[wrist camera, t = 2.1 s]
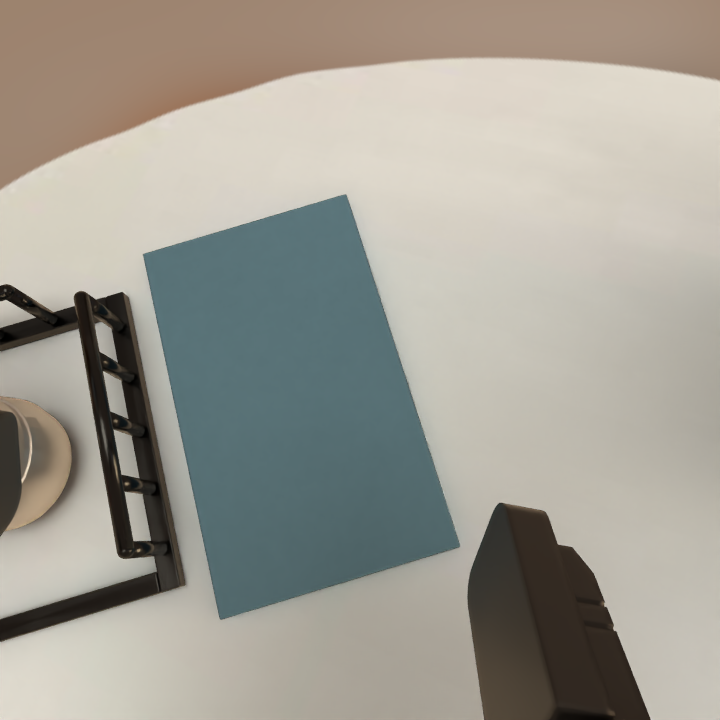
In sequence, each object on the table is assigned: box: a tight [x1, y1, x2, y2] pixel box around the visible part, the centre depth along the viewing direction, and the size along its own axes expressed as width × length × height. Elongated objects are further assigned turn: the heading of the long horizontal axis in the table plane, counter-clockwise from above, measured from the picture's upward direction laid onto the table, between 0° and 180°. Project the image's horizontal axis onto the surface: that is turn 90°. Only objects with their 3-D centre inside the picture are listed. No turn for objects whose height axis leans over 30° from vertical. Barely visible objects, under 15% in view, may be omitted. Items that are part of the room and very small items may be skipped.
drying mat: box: [143, 194, 460, 620], centre depth 33 cm, size 20×12×1 cm, turn 16°
